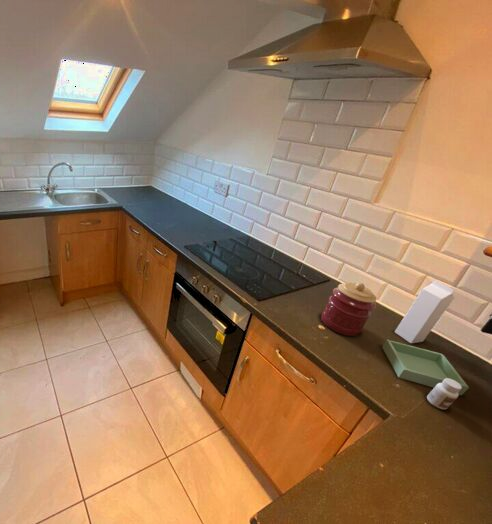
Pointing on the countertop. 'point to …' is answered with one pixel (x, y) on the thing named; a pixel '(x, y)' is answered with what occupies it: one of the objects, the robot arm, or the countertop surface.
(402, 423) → the countertop surface
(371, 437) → the countertop surface
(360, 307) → the kitchen canister
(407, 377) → the tray
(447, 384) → the pill bottle
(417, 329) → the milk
